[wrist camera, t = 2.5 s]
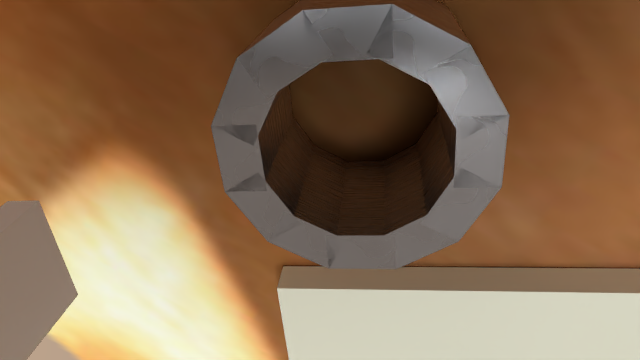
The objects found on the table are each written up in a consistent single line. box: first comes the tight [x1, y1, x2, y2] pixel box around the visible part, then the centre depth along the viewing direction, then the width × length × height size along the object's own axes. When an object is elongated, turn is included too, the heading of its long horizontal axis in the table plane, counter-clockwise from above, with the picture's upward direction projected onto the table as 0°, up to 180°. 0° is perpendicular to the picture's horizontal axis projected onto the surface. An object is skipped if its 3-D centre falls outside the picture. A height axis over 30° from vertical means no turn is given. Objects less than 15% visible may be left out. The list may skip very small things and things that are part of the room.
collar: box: [211, 0, 509, 269], centre depth 16 cm, size 8×8×5 cm
